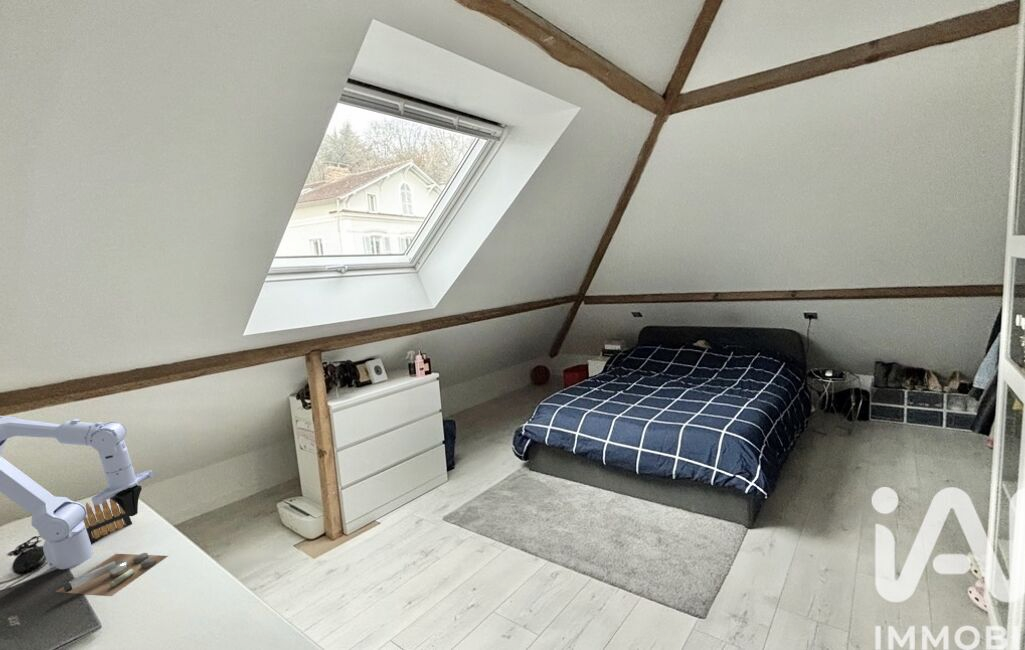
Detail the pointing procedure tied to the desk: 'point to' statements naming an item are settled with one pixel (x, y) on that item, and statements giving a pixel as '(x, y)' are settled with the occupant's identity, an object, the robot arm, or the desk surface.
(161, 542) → the desk surface
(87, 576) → the door lever handle
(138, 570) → the brown flat board
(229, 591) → the desk surface
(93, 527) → the ammunition clip
